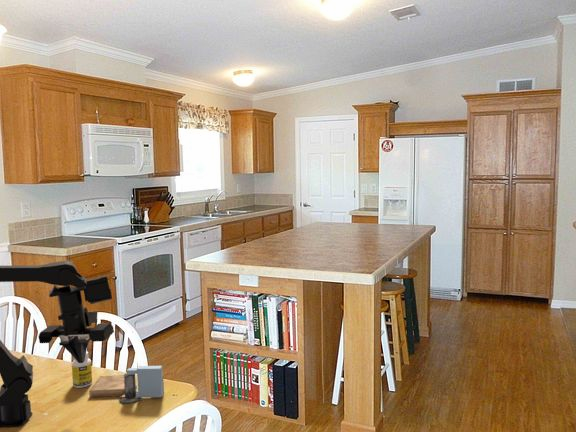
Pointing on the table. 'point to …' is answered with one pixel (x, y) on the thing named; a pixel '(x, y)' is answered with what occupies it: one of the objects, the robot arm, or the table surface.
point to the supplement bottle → (82, 372)
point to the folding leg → (148, 380)
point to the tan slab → (116, 388)
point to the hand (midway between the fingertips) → (81, 362)
